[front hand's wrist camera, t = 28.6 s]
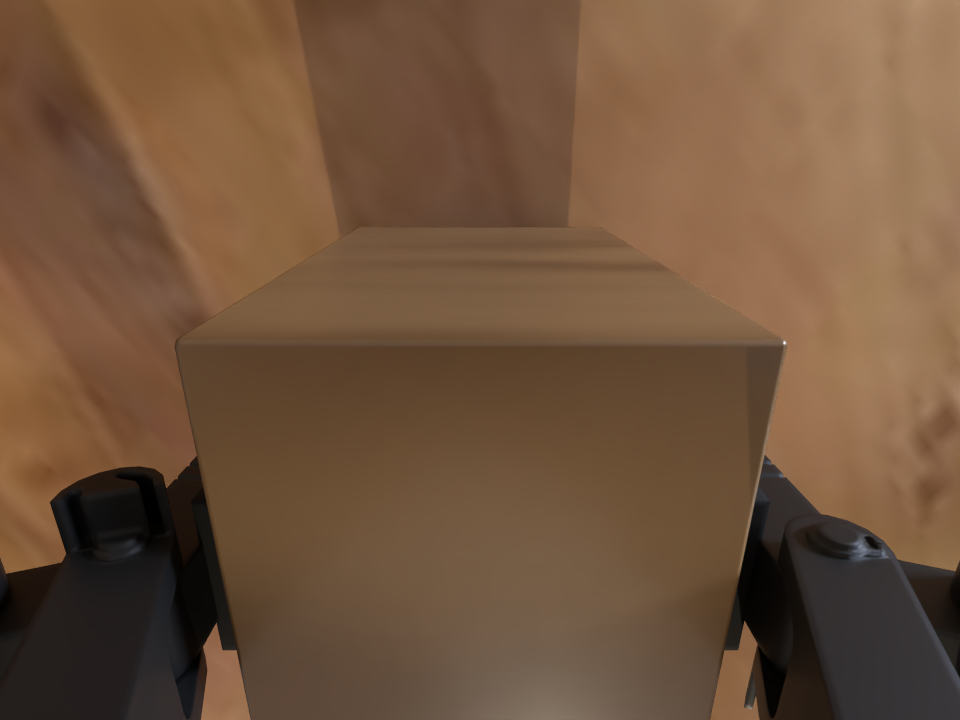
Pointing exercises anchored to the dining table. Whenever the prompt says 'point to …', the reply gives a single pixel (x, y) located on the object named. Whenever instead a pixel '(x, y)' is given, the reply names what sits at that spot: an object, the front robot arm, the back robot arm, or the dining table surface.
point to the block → (480, 477)
